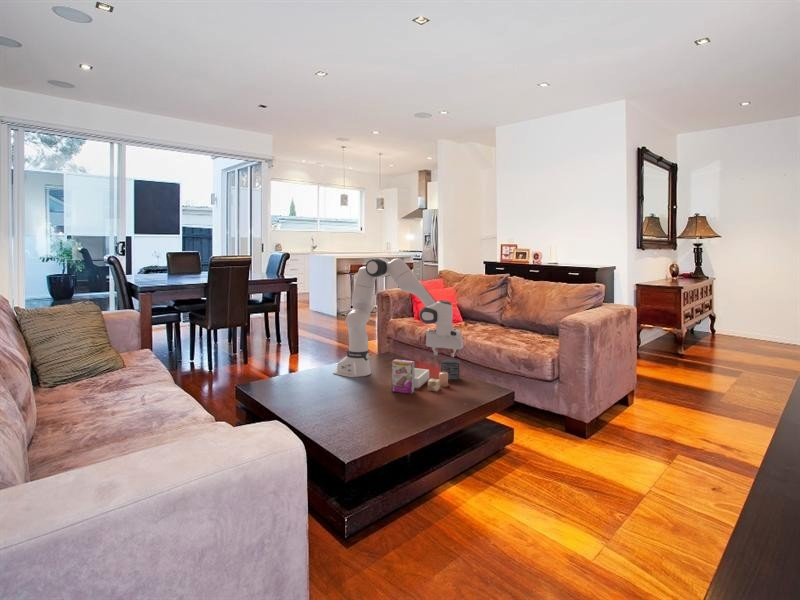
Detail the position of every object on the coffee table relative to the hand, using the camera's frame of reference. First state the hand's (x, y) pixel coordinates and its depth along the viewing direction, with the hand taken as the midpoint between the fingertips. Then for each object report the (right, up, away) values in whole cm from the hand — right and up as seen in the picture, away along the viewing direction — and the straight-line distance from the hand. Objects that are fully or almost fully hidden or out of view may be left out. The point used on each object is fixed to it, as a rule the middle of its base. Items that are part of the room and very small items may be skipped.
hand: (444, 356), depth 244 cm
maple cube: (-6, -17, -4) cm, 19 cm away
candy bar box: (-22, -18, -8) cm, 30 cm away
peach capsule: (0, -16, +2) cm, 17 cm away
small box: (+5, -15, +14) cm, 21 cm away
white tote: (-17, -16, +8) cm, 25 cm away
